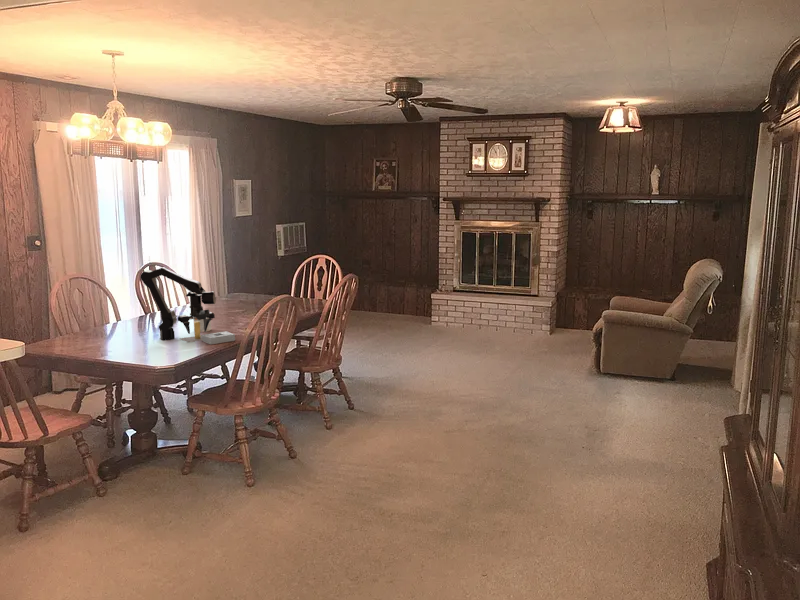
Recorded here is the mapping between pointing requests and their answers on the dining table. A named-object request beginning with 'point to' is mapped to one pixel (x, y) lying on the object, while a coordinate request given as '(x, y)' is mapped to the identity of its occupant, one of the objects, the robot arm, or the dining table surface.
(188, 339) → the mat
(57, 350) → the dining table surface
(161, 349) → the dining table surface
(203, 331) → the small box
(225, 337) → the socket block
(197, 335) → the peg
